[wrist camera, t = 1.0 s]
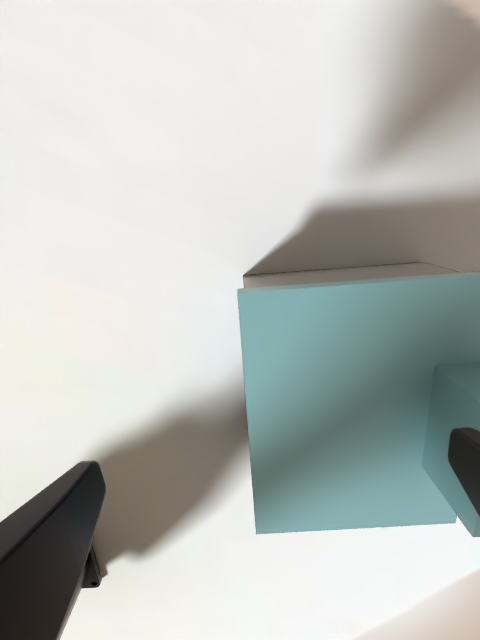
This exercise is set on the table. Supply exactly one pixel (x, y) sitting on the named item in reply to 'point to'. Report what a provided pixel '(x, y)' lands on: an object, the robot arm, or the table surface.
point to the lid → (360, 400)
